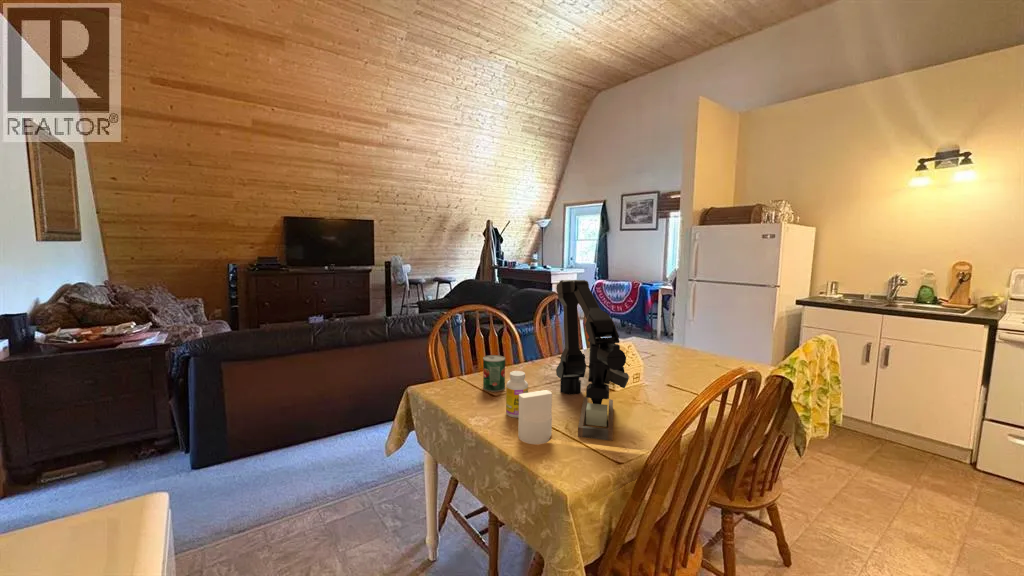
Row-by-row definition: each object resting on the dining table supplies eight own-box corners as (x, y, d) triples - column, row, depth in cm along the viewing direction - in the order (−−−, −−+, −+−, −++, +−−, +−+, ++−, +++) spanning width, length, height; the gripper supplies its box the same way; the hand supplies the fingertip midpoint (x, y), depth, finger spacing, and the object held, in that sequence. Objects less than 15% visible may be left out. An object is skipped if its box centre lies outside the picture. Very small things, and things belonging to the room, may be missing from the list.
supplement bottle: (512, 420, 124) (512, 378, 122) (502, 411, 129) (502, 371, 128) (531, 415, 127) (532, 374, 125) (521, 408, 132) (521, 368, 131)
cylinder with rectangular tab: (527, 446, 108) (527, 402, 106) (513, 432, 116) (513, 390, 114) (557, 440, 111) (558, 397, 110) (541, 426, 119) (542, 386, 118)
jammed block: (585, 424, 119) (586, 409, 118) (586, 417, 124) (587, 402, 123) (606, 426, 118) (607, 411, 117) (606, 419, 122) (607, 404, 122)
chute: (577, 439, 112) (578, 427, 111) (583, 407, 133) (583, 396, 133) (612, 443, 110) (612, 431, 109) (612, 410, 131) (612, 399, 131)
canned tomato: (509, 389, 149) (509, 359, 148) (490, 393, 145) (490, 362, 144) (497, 382, 156) (497, 353, 155) (479, 386, 151) (479, 357, 150)
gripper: (628, 371, 112) (626, 427, 114) (626, 353, 130) (624, 401, 132) (586, 368, 114) (585, 423, 116) (590, 350, 132) (588, 398, 134)
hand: (597, 410), depth 124 cm, fingers closed
